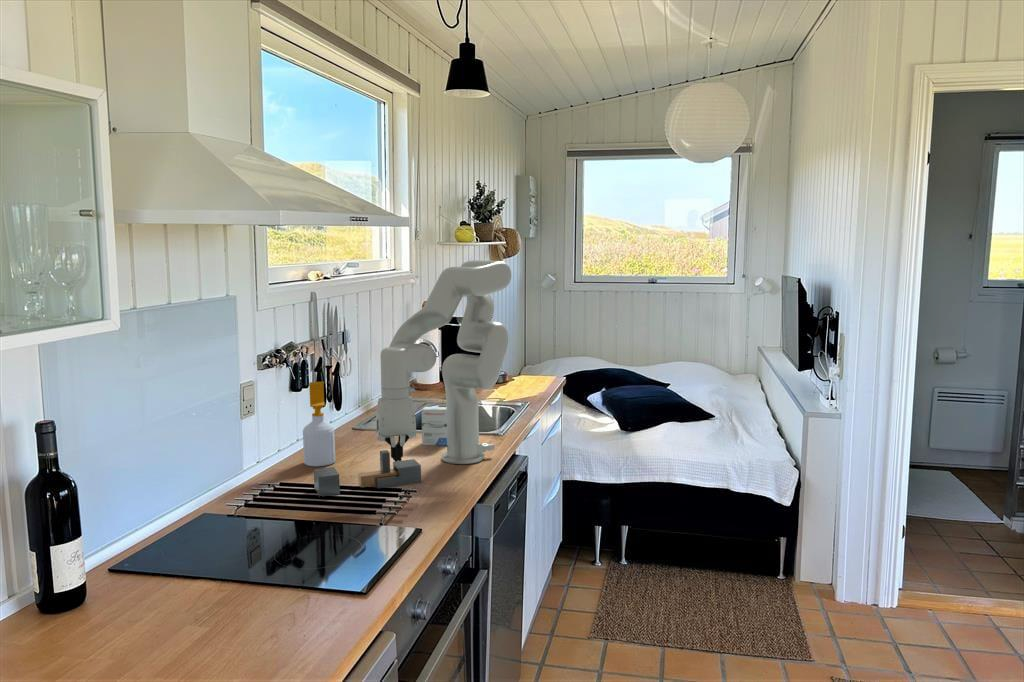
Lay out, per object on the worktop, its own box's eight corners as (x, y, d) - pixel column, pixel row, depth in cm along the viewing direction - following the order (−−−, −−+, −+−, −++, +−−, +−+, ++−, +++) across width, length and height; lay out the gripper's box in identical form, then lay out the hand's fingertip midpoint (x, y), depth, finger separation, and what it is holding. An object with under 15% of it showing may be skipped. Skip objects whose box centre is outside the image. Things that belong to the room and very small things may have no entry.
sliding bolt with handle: (416, 476, 215) (415, 446, 214) (419, 479, 212) (418, 449, 211) (358, 484, 209) (357, 453, 208) (361, 487, 206) (360, 456, 205)
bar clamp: (414, 475, 217) (413, 457, 217) (421, 482, 210) (421, 464, 210) (314, 488, 207) (313, 469, 206) (319, 496, 200) (318, 477, 199)
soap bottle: (304, 468, 225) (300, 384, 222) (304, 459, 234) (300, 379, 230) (336, 465, 227) (332, 382, 224) (334, 457, 236) (331, 377, 233)
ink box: (451, 441, 253) (450, 406, 251) (448, 446, 248) (447, 409, 246) (425, 441, 253) (424, 405, 252) (421, 445, 249) (421, 409, 247)
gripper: (418, 388, 215) (419, 453, 217) (364, 393, 209) (366, 459, 211) (426, 393, 208) (427, 460, 210) (371, 398, 202) (373, 466, 204)
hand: (397, 459), depth 211 cm, fingers closed
